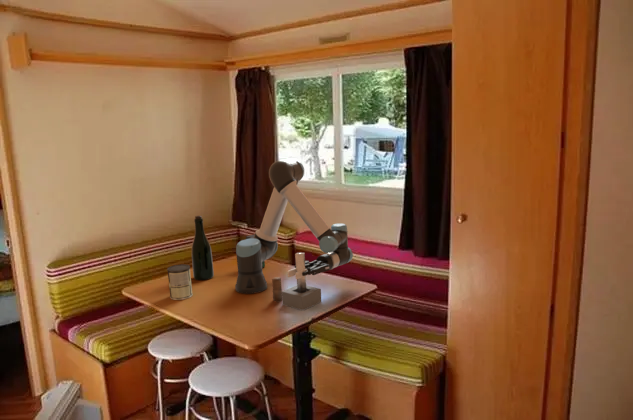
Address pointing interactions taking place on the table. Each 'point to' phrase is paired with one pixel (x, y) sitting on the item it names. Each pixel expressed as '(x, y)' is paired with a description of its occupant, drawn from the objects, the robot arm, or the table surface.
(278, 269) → the table surface
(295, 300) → the hole block
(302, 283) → the long steel pin
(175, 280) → the coffee can
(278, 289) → the short walnut pin
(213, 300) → the table surface
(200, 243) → the beer bottle
